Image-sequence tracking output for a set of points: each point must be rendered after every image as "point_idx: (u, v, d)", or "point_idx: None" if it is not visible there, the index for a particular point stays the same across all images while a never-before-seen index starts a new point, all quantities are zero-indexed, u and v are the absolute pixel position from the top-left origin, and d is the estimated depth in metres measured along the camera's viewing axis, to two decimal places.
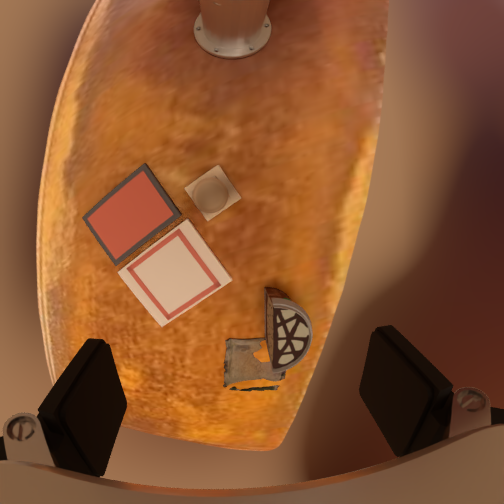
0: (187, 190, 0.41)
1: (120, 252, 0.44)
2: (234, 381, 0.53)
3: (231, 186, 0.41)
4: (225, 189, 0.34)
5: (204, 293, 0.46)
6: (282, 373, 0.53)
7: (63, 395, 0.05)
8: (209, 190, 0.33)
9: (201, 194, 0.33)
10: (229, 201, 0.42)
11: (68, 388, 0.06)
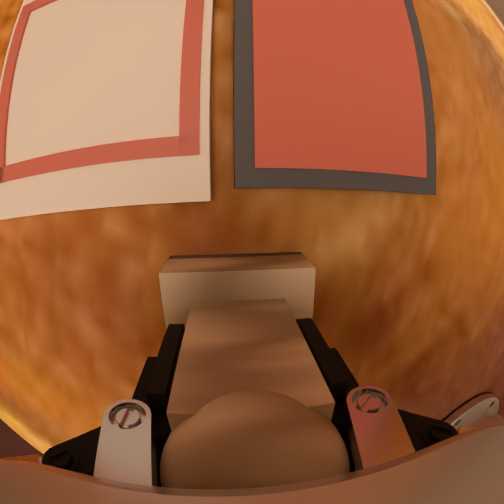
0: (302, 273, 0.11)
1: None
2: None
3: None
4: None
5: (0, 126, 0.09)
6: None
7: (169, 376, 0.07)
8: None
9: None
10: None
11: (170, 369, 0.07)
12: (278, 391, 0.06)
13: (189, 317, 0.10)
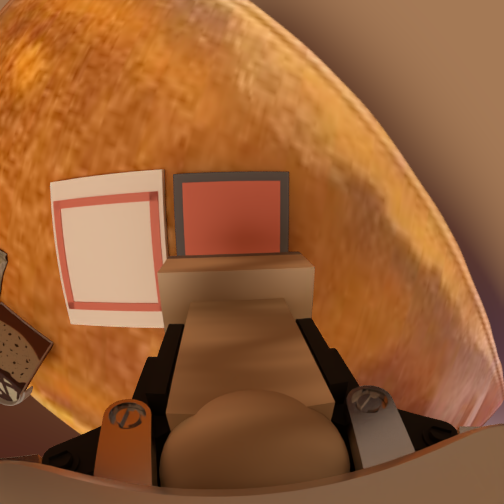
0: (300, 273, 0.11)
1: (187, 199, 0.24)
2: None
3: None
4: None
5: (66, 281, 0.25)
6: None
7: (169, 376, 0.07)
8: None
9: None
10: None
11: (170, 369, 0.07)
12: (278, 391, 0.06)
13: (188, 317, 0.10)
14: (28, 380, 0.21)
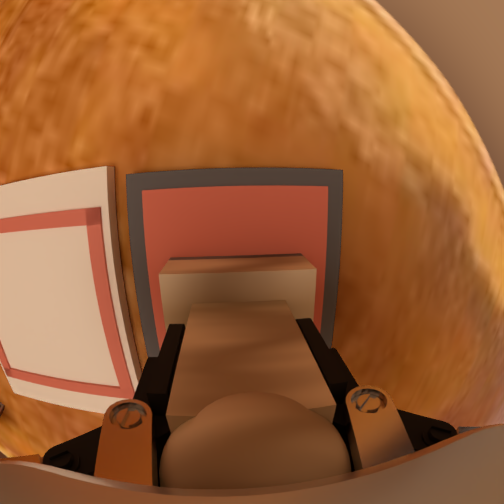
0: (302, 274, 0.11)
1: (153, 222, 0.13)
2: None
3: None
4: None
5: None
6: None
7: (169, 376, 0.07)
8: None
9: None
10: None
11: (170, 369, 0.07)
12: (279, 393, 0.06)
13: (189, 318, 0.10)
14: None
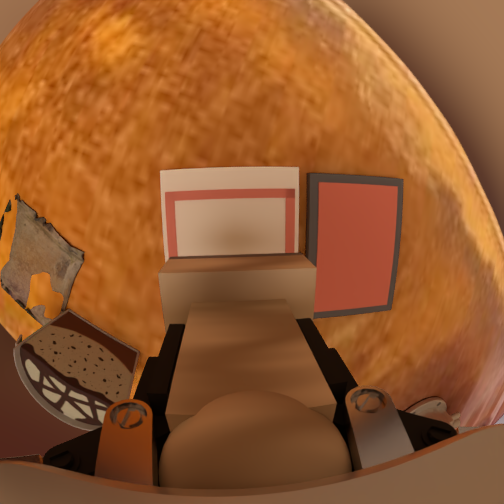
0: (302, 273, 0.11)
1: (323, 198, 0.25)
2: (17, 216, 0.24)
3: None
4: None
5: None
6: (8, 290, 0.25)
7: (170, 376, 0.07)
8: None
9: None
10: None
11: (171, 369, 0.07)
12: (279, 392, 0.06)
13: (189, 317, 0.10)
14: None
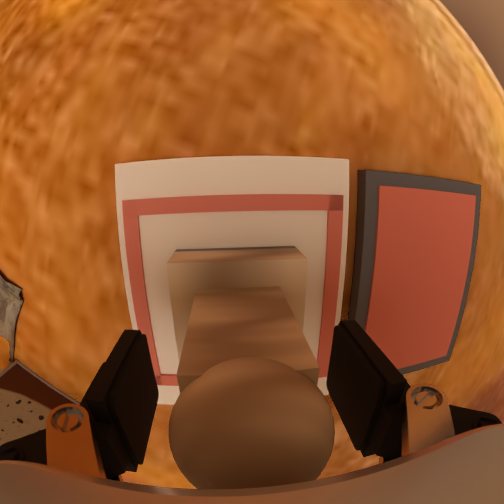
0: (294, 263, 0.12)
1: (385, 212, 0.15)
2: None
3: None
4: None
5: None
6: None
7: (110, 384, 0.06)
8: None
9: (295, 473, 0.05)
10: None
11: (114, 376, 0.07)
12: (271, 358, 0.07)
13: (194, 301, 0.11)
14: None
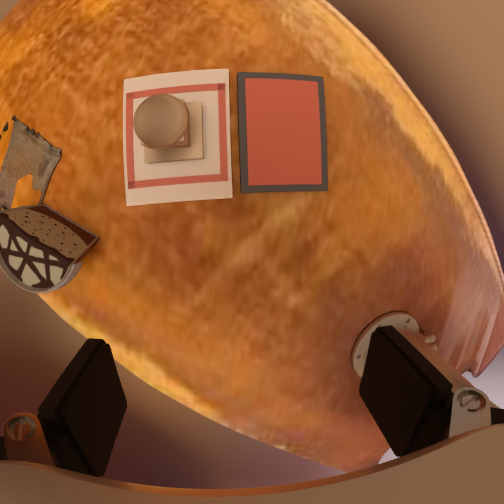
0: (195, 103, 0.26)
1: (249, 90, 0.28)
2: (12, 133, 0.26)
3: (165, 158, 0.27)
4: (153, 143, 0.20)
5: (130, 161, 0.29)
6: None
7: (63, 395, 0.05)
8: (162, 119, 0.19)
9: (165, 105, 0.18)
10: None
11: (68, 388, 0.06)
12: None
13: None
14: (77, 257, 0.25)
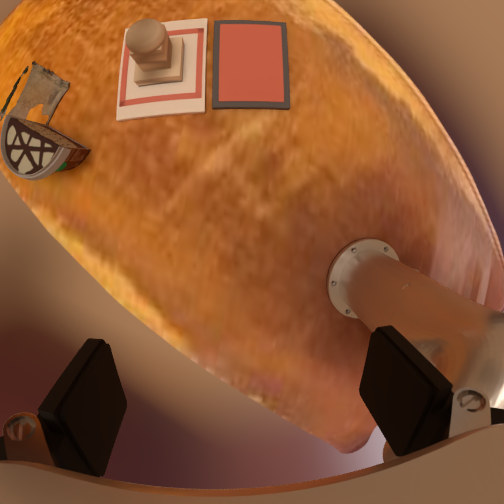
0: (177, 38, 0.28)
1: (223, 32, 0.31)
2: (30, 74, 0.29)
3: (150, 77, 0.29)
4: (137, 48, 0.22)
5: (123, 85, 0.31)
6: None
7: (63, 396, 0.05)
8: (145, 30, 0.21)
9: (148, 22, 0.21)
10: (138, 69, 0.29)
11: (68, 388, 0.06)
12: None
13: None
14: (67, 147, 0.27)
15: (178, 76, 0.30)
